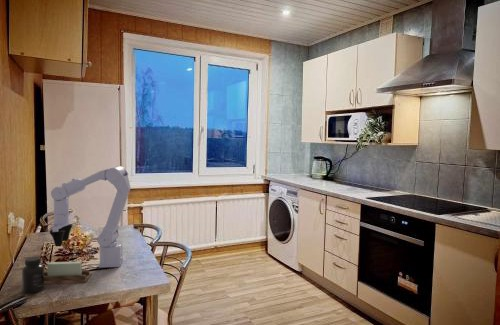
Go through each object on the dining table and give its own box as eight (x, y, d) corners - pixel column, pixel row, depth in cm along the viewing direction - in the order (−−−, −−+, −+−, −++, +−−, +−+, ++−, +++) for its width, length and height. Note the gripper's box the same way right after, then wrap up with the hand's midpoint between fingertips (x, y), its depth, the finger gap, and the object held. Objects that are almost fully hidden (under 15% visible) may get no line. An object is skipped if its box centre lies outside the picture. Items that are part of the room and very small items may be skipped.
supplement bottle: (17, 292, 125) (17, 260, 124) (35, 284, 132) (34, 254, 131) (31, 295, 123) (30, 263, 122) (48, 288, 129) (47, 257, 128)
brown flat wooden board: (91, 274, 142) (91, 268, 142) (85, 282, 135) (85, 276, 134) (44, 276, 140) (44, 270, 139) (35, 284, 132) (35, 278, 132)
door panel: (81, 275, 139) (81, 261, 139) (80, 277, 137) (79, 263, 137) (49, 277, 137) (49, 262, 137) (47, 279, 135) (47, 264, 135)
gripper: (58, 209, 157) (58, 238, 158) (44, 217, 143) (45, 249, 144) (74, 209, 159) (74, 238, 160) (62, 217, 144) (63, 248, 145)
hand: (61, 243), depth 152 cm, fingers open, 7 cm apart
